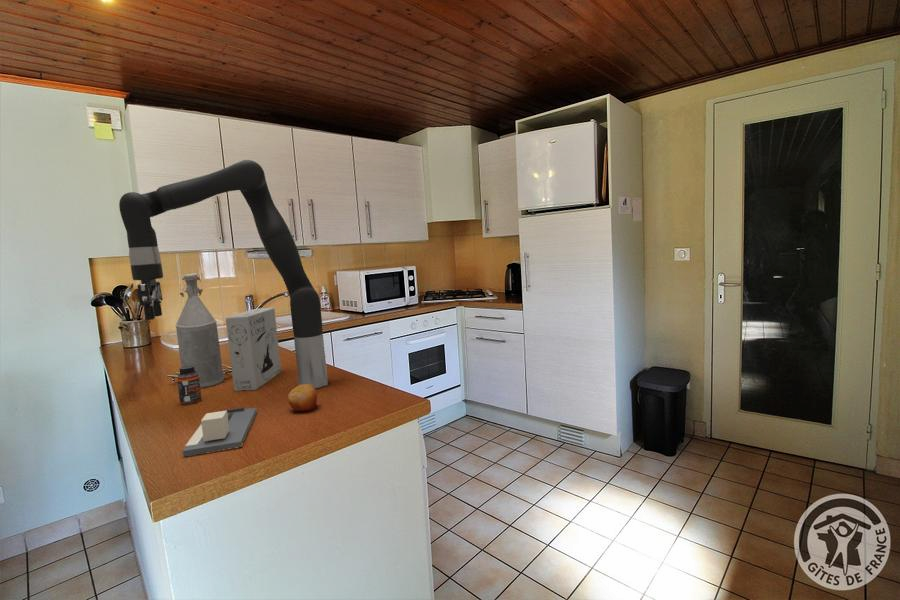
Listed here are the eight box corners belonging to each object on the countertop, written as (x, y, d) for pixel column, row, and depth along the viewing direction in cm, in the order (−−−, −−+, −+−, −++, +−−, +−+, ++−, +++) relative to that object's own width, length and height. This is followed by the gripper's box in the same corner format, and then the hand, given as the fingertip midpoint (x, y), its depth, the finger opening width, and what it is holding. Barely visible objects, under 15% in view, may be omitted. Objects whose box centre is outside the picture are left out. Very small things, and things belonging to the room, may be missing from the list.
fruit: (327, 398, 130) (316, 379, 125) (315, 420, 124) (303, 401, 119) (304, 396, 133) (293, 378, 128) (291, 418, 127) (278, 400, 122)
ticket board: (256, 412, 125) (255, 404, 125) (241, 447, 102) (240, 438, 102) (210, 419, 122) (209, 411, 122) (183, 457, 99) (182, 447, 99)
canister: (214, 374, 171) (201, 272, 166) (230, 382, 159) (217, 272, 154) (176, 383, 162) (162, 275, 157) (191, 391, 150) (175, 275, 145)
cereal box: (256, 390, 147) (247, 316, 144) (233, 391, 147) (224, 317, 144) (281, 372, 168) (274, 307, 166) (262, 373, 169) (254, 308, 166)
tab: (229, 430, 108) (226, 410, 108) (224, 438, 104) (222, 417, 103) (209, 433, 107) (206, 413, 107) (203, 441, 102) (200, 420, 102)
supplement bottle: (191, 405, 135) (187, 369, 134) (175, 405, 136) (170, 369, 135) (206, 398, 141) (201, 364, 140) (190, 398, 142) (185, 364, 141)
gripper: (154, 262, 123) (163, 319, 125) (166, 262, 137) (174, 313, 139) (122, 264, 121) (131, 322, 123) (138, 263, 134) (146, 316, 136)
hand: (154, 317), depth 131 cm, fingers open, 8 cm apart
